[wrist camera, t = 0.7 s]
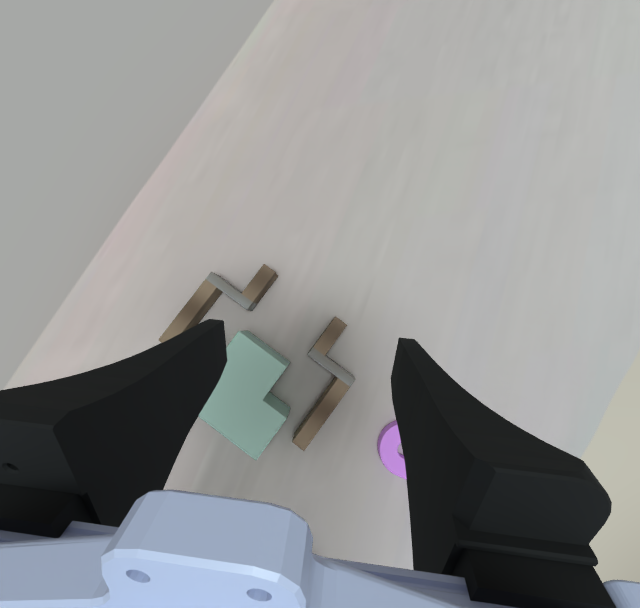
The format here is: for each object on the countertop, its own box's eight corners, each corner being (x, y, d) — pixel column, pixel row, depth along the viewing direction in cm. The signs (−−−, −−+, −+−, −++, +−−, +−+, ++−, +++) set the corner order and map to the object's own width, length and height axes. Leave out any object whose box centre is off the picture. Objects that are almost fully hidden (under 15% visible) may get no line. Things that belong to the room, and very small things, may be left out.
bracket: (497, 457, 35) (542, 489, 28) (479, 506, 34) (521, 551, 27) (388, 411, 35) (406, 431, 28) (369, 459, 34) (383, 492, 27)
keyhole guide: (304, 442, 34) (304, 451, 32) (169, 339, 35) (158, 339, 33) (373, 346, 35) (378, 347, 33) (240, 248, 36) (234, 242, 34)
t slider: (263, 445, 34) (255, 460, 30) (177, 379, 35) (159, 386, 31) (311, 378, 35) (310, 385, 31) (226, 314, 35) (215, 313, 31)
